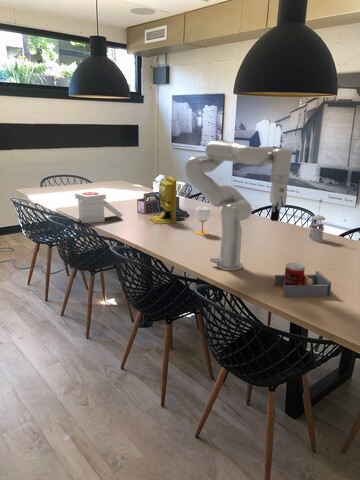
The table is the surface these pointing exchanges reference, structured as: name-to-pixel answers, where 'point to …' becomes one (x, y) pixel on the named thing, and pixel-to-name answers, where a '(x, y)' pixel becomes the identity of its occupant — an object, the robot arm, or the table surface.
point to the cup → (202, 218)
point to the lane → (306, 286)
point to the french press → (316, 233)
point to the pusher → (307, 280)
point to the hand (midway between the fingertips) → (274, 220)
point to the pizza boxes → (93, 207)
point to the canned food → (294, 274)
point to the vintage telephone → (167, 202)
